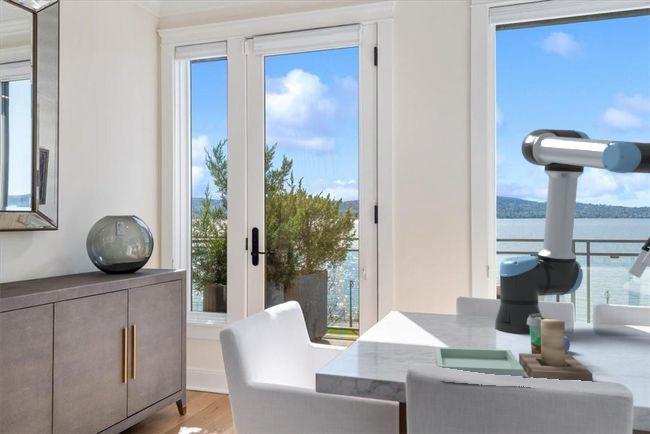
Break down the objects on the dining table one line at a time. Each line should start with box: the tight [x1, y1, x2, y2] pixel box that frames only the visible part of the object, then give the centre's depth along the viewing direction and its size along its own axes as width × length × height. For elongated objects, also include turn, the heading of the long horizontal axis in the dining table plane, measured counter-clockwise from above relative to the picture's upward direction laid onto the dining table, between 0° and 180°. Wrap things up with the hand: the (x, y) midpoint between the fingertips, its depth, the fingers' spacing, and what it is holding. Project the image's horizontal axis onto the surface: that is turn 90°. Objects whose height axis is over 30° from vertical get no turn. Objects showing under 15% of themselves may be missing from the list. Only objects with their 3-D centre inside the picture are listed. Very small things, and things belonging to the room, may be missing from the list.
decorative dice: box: [565, 335, 571, 354], centre depth 143 cm, size 4×4×4 cm
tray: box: [435, 346, 525, 378], centre depth 124 cm, size 18×18×3 cm
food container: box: [527, 313, 548, 354], centre depth 138 cm, size 12×6×10 cm, turn 5°
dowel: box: [541, 318, 566, 367], centre depth 121 cm, size 5×5×12 cm
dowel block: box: [518, 352, 594, 382], centre depth 121 cm, size 16×12×2 cm
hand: (640, 270), depth 123 cm, fingers open, 13 cm apart
